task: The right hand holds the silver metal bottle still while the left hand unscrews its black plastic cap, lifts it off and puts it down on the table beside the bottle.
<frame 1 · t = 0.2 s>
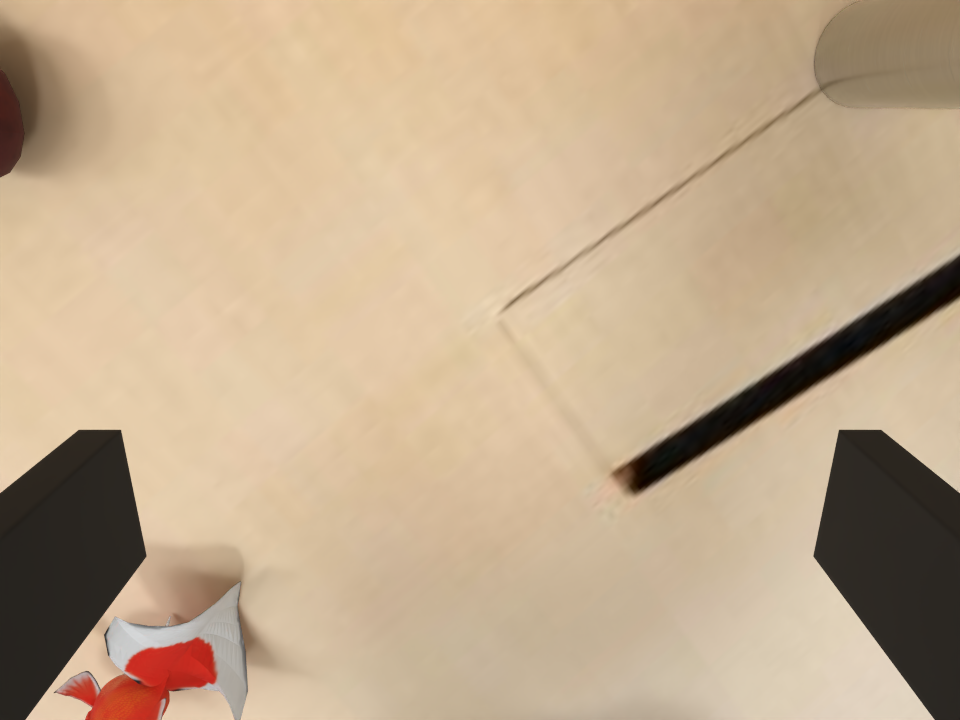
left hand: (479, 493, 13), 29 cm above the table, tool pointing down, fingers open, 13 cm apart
bottle: (864, 54, 36), on the table
fish: (182, 629, 50), on the table
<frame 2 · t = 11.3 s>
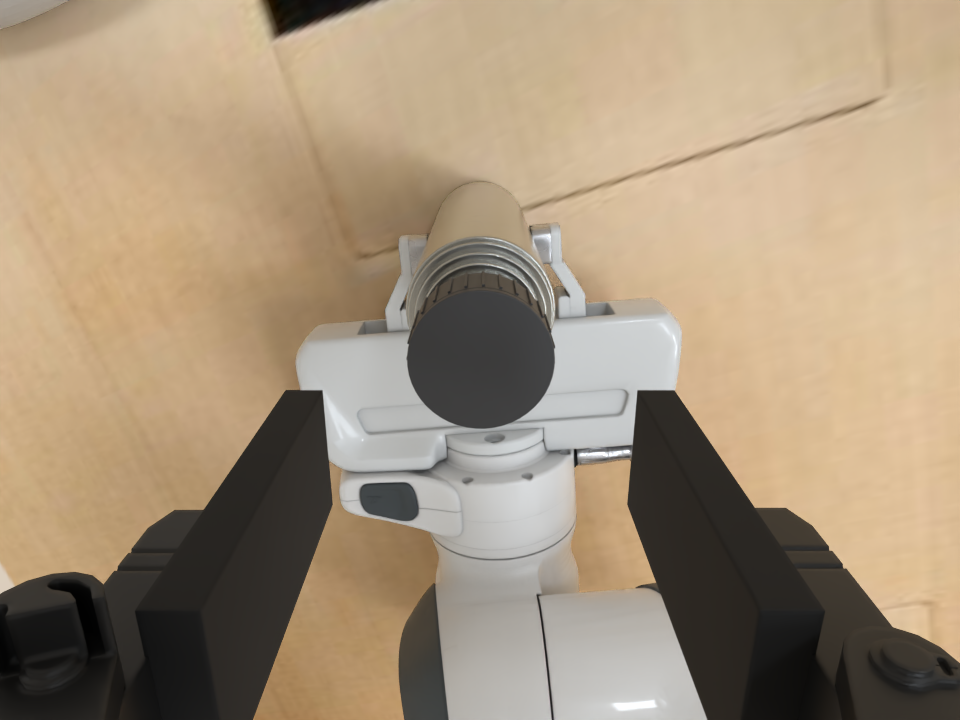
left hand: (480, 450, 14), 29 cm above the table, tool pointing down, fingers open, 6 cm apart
right hand: (477, 230, 35), fingers closed on bottle, 5 cm apart
bottle: (480, 226, 41), on the table, touching right hand
cap: (480, 358, 20), point 23 cm above the table, screwed on, not yet turned
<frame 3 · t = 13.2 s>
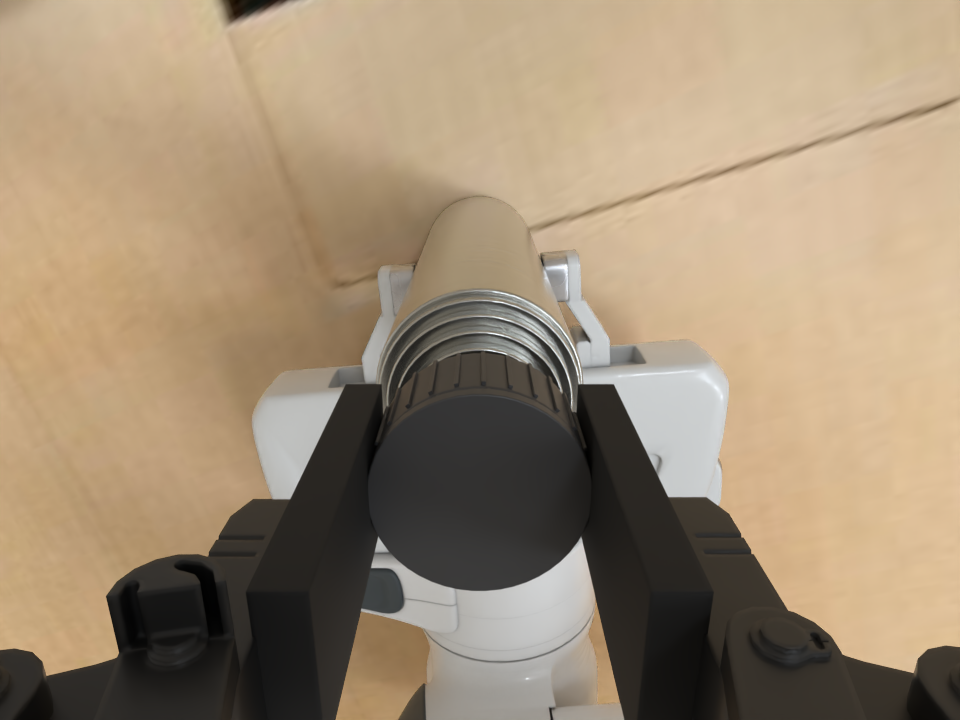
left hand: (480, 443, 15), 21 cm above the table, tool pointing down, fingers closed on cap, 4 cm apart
right hand: (476, 260, 28), fingers closed on bottle, 5 cm apart
bottle: (479, 249, 34), on the table, touching right hand
cap: (479, 490, 13), point 23 cm above the table, screwed on, not yet turned, touching left hand
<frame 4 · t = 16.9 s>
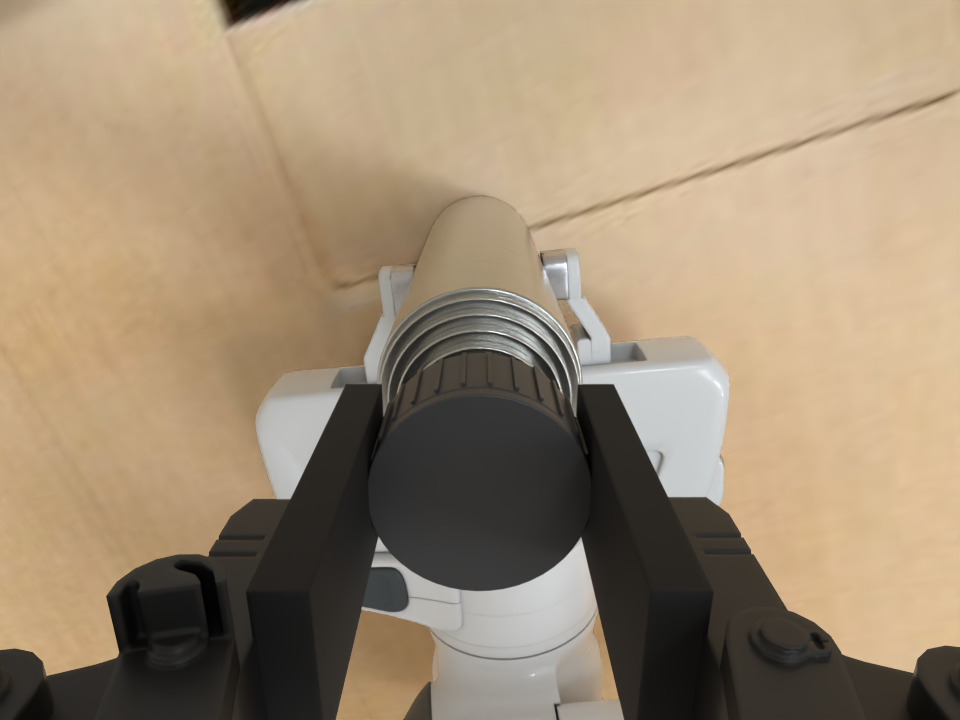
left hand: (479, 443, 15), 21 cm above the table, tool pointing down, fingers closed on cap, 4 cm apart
right hand: (476, 259, 28), fingers closed on bottle, 5 cm apart
bottle: (479, 249, 35), on the table, touching right hand
cap: (479, 490, 13), point 23 cm above the table, turned 129° so far, risen 0.1 cm, still on its thread, touching left hand
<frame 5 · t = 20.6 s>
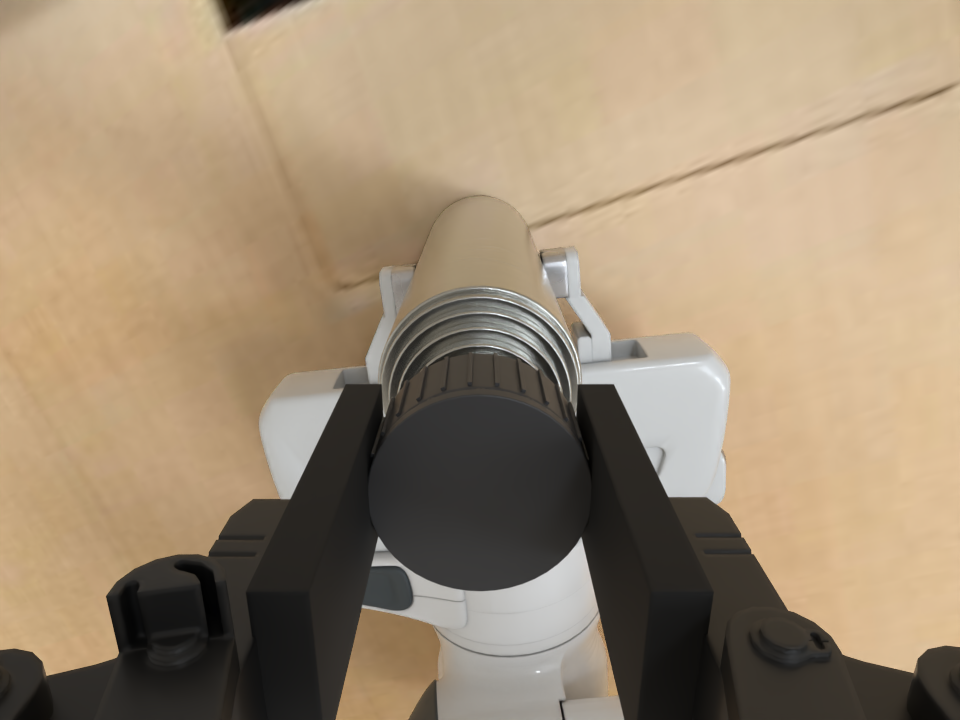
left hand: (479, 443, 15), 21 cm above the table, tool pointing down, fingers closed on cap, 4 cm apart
right hand: (476, 258, 28), fingers closed on bottle, 5 cm apart
bottle: (480, 248, 35), on the table, touching right hand
cap: (479, 490, 13), point 23 cm above the table, turned 259° so far, risen 0.3 cm, still on its thread, touching left hand
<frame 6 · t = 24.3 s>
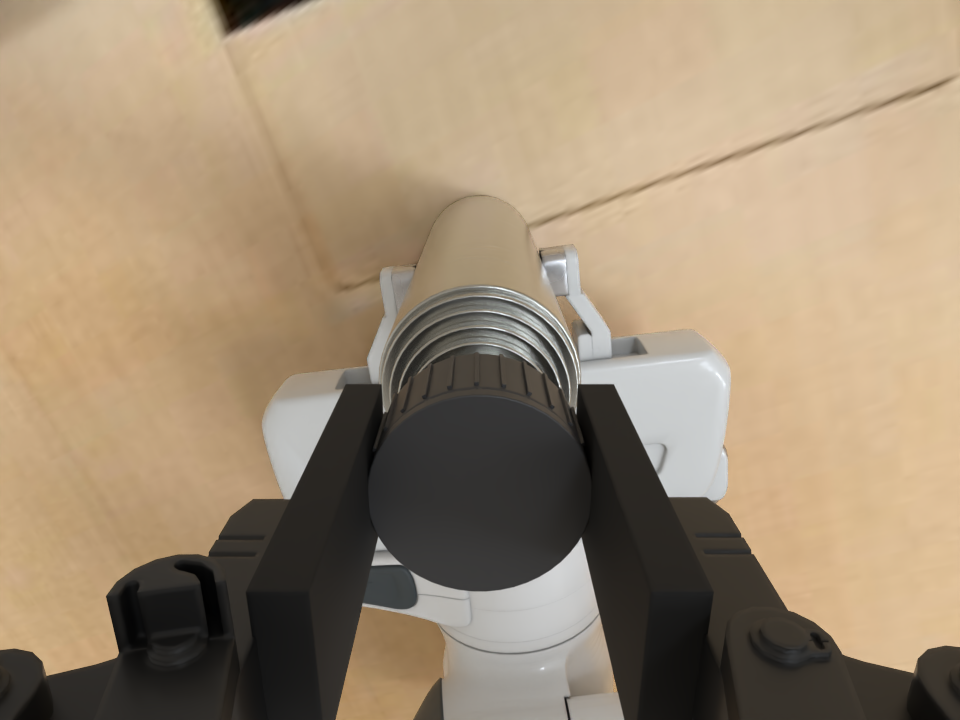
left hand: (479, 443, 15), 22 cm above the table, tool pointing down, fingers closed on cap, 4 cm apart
right hand: (476, 258, 28), fingers closed on bottle, 5 cm apart
bottle: (480, 248, 35), on the table, touching right hand
cap: (479, 490, 13), point 23 cm above the table, turned 388° so far, risen 0.4 cm, still on its thread, touching left hand
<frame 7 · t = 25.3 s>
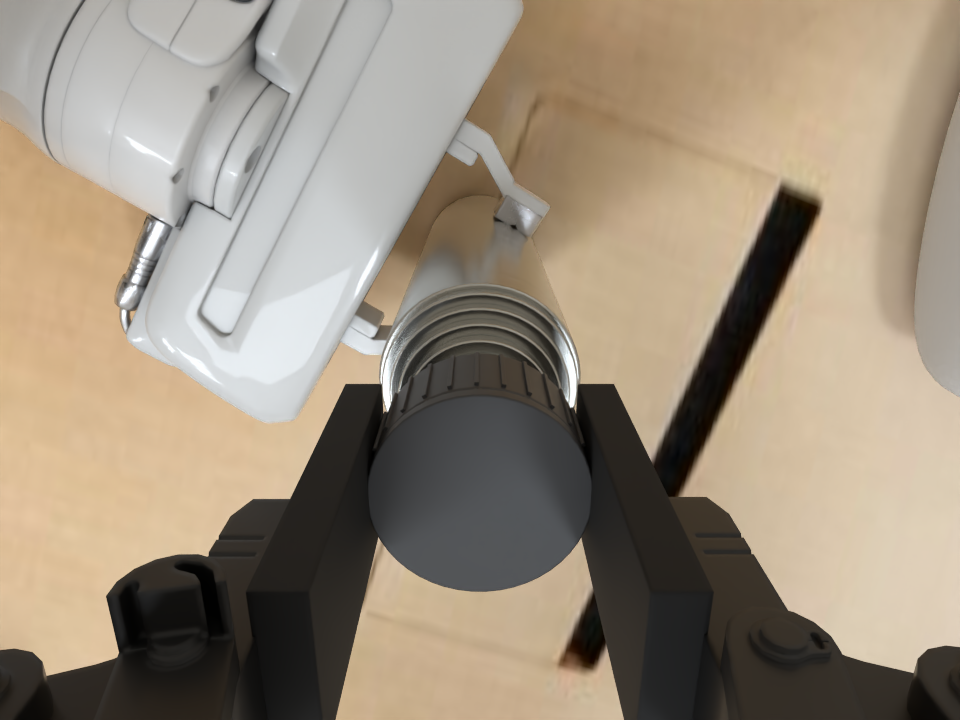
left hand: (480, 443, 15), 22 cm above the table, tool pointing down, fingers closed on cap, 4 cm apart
right hand: (498, 287, 29), fingers closed on bottle, 5 cm apart
bottle: (479, 247, 35), on the table, touching right hand
cap: (479, 490, 13), point 24 cm above the table, off its thread, touching left hand
when the left hand's fingers open (2 cm above the table, at t = 31.3 s): cap drops 2 cm, point 2 cm above the table.
when the right hand's fingers open (7 cm above the table, at t = 32.6 s): bottle stays where it is, on the table.
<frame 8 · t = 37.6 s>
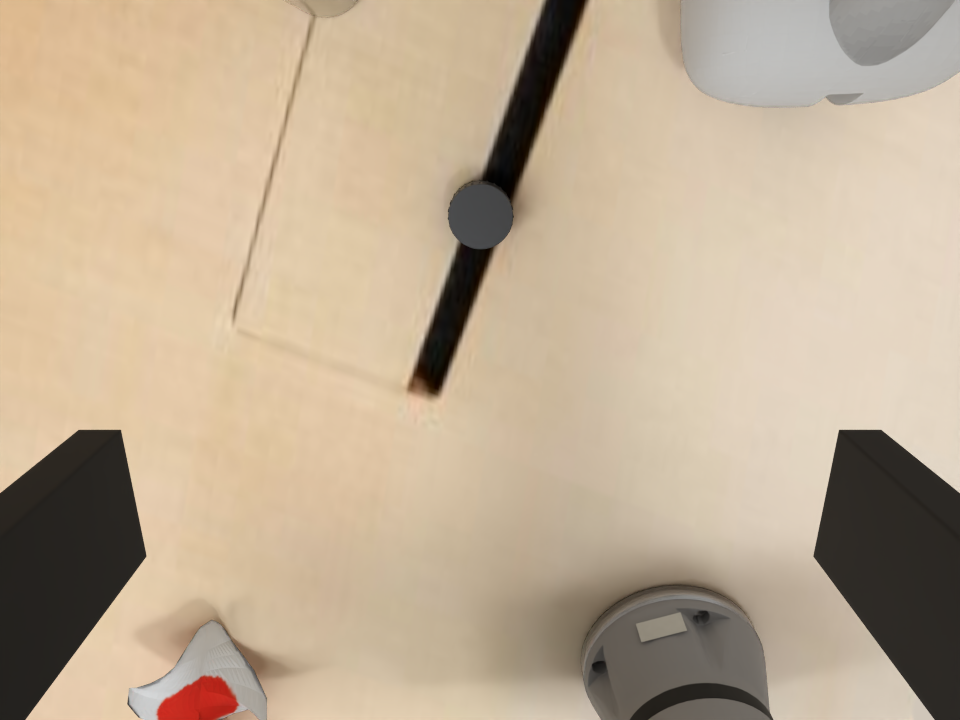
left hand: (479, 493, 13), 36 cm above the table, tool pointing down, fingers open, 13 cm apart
cap: (480, 216, 44), point 2 cm above the table, off its thread
fish: (210, 676, 60), on the table
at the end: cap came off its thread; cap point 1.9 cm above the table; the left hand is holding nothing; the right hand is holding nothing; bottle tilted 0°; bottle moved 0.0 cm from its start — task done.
